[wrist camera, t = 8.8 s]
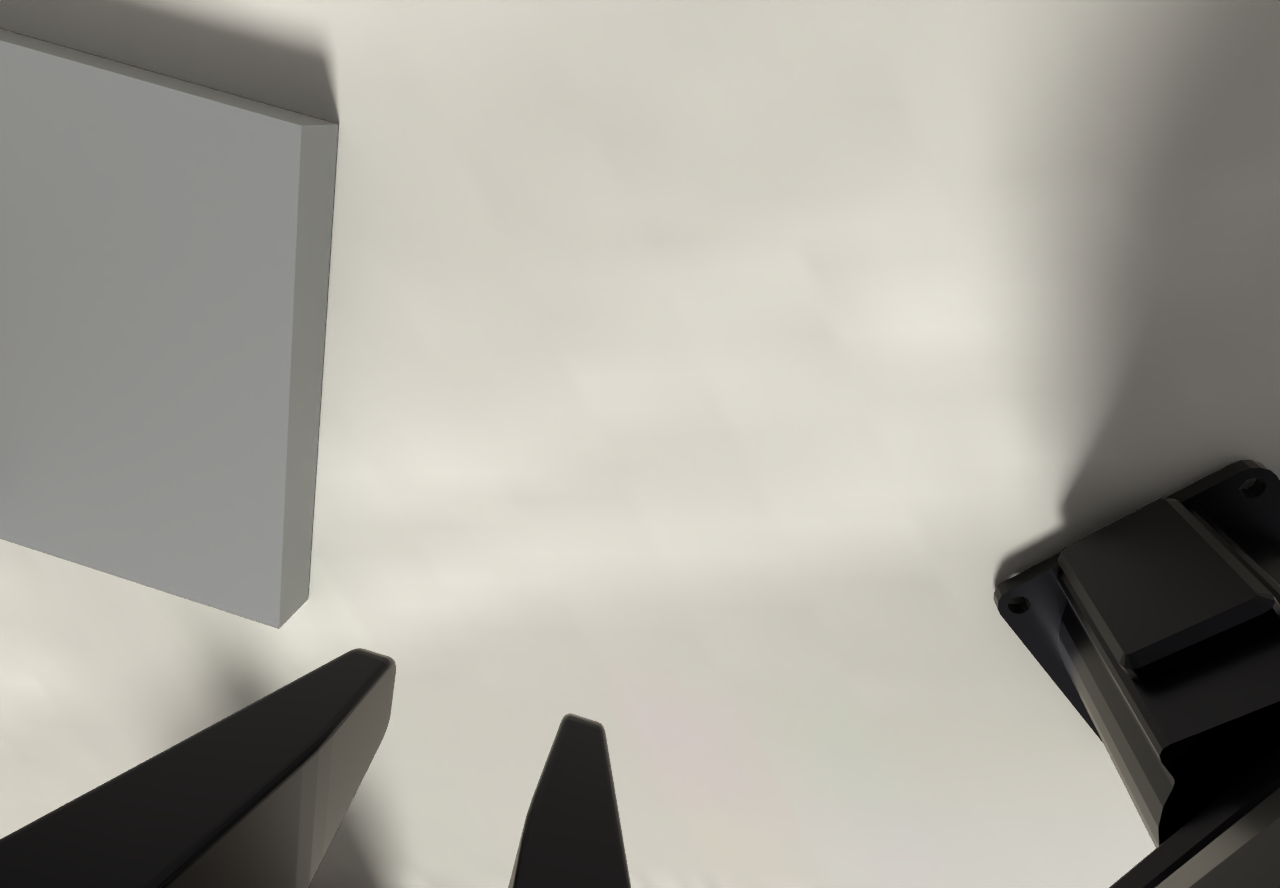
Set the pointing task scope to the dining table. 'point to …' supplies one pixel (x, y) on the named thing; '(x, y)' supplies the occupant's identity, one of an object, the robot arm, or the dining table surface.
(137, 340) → the board
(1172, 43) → the dining table surface
